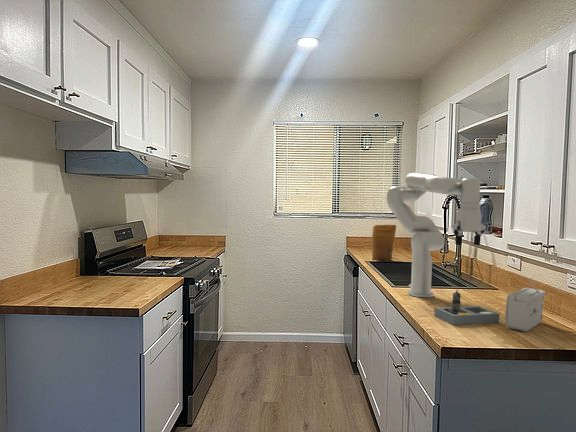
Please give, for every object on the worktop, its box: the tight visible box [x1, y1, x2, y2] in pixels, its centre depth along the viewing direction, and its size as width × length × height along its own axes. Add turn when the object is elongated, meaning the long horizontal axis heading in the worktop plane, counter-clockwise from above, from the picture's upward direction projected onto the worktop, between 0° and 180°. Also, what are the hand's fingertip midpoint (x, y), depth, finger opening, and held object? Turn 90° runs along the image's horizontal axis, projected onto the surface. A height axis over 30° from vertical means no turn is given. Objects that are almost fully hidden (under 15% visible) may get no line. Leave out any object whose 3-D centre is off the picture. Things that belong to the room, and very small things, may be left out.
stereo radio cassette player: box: [504, 278, 547, 333], centre depth 158 cm, size 21×8×20 cm, turn 133°
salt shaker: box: [448, 290, 464, 314], centre depth 163 cm, size 6×6×12 cm
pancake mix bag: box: [371, 224, 397, 261], centre depth 314 cm, size 7×19×28 cm, turn 95°
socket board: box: [434, 305, 501, 326], centre depth 164 cm, size 12×21×4 cm, turn 105°
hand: (467, 244), depth 180 cm, fingers open, 9 cm apart
